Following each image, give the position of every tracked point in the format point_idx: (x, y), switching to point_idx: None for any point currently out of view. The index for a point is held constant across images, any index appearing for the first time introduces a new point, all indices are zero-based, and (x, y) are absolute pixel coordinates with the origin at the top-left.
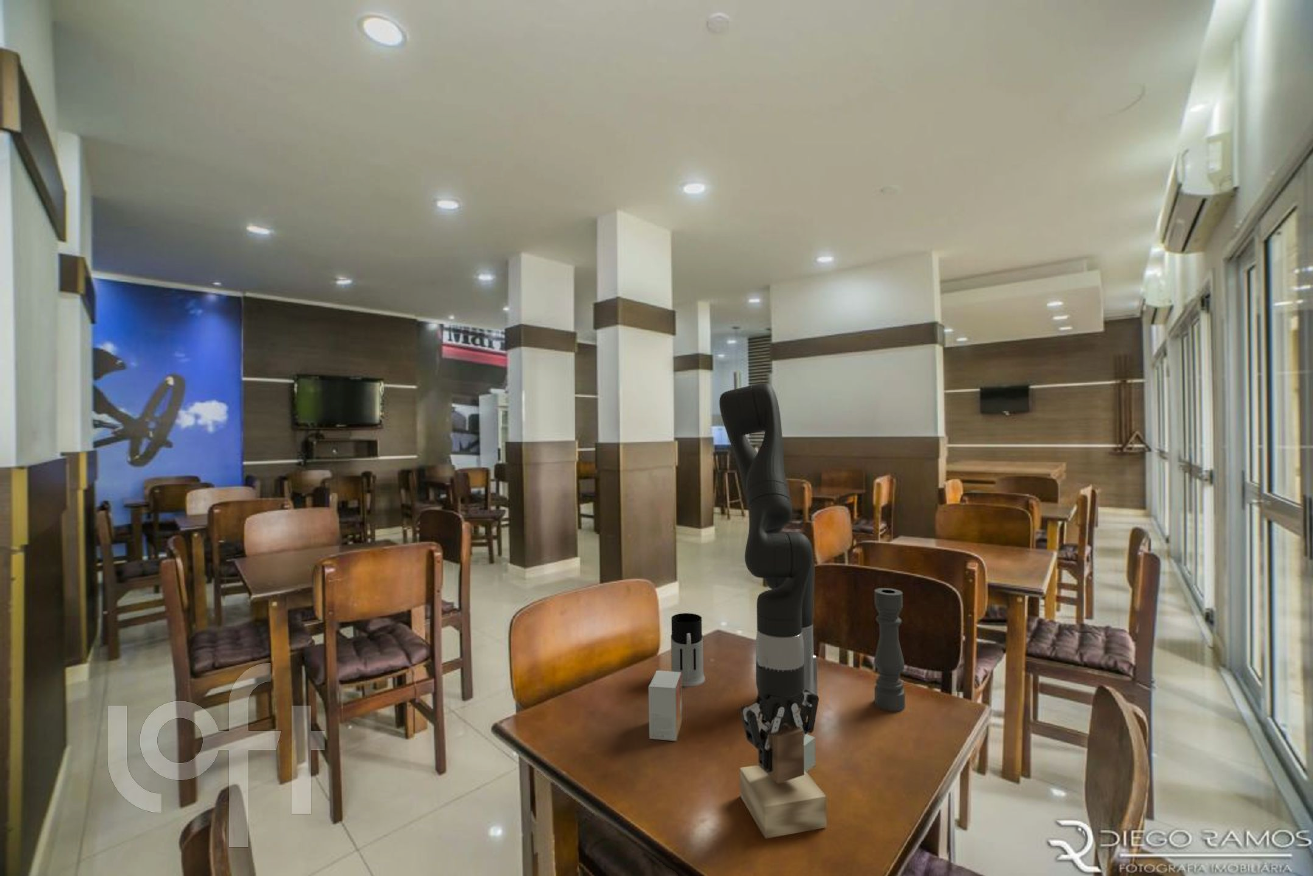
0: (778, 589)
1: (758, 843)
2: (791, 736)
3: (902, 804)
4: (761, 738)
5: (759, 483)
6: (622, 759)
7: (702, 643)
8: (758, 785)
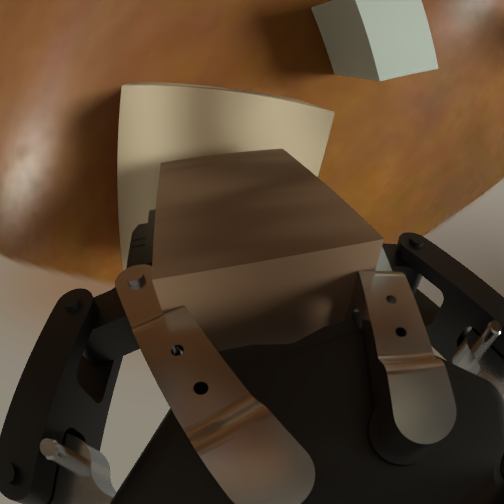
0: None
1: (112, 239)
2: None
3: (409, 222)
4: (129, 344)
5: None
6: None
7: None
8: (139, 191)
